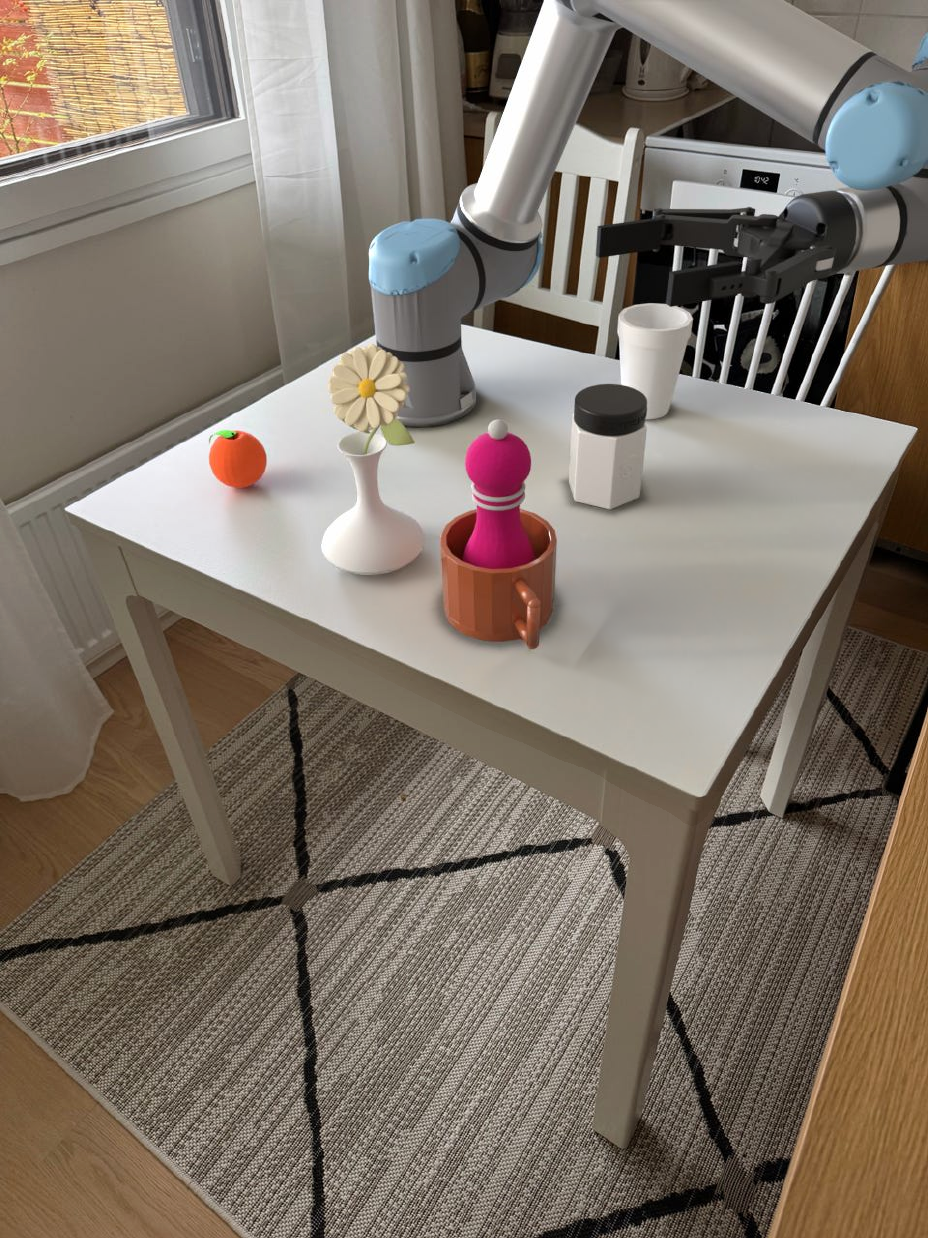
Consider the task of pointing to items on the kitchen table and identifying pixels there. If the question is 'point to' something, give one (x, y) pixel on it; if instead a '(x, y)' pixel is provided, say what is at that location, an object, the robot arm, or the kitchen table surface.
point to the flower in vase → (370, 465)
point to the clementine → (237, 458)
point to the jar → (607, 445)
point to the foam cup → (653, 351)
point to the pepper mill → (498, 499)
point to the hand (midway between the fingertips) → (631, 264)
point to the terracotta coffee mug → (499, 584)
